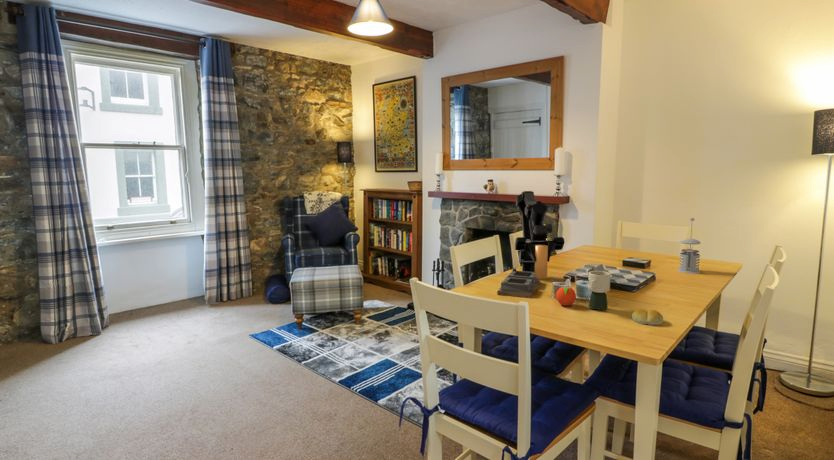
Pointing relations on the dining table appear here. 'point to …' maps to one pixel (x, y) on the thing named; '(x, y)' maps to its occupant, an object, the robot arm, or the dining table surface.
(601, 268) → the electrical switch
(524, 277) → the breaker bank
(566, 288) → the tomato
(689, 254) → the french press
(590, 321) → the dining table surface
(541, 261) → the tan cylinder
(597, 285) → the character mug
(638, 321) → the bread roll
